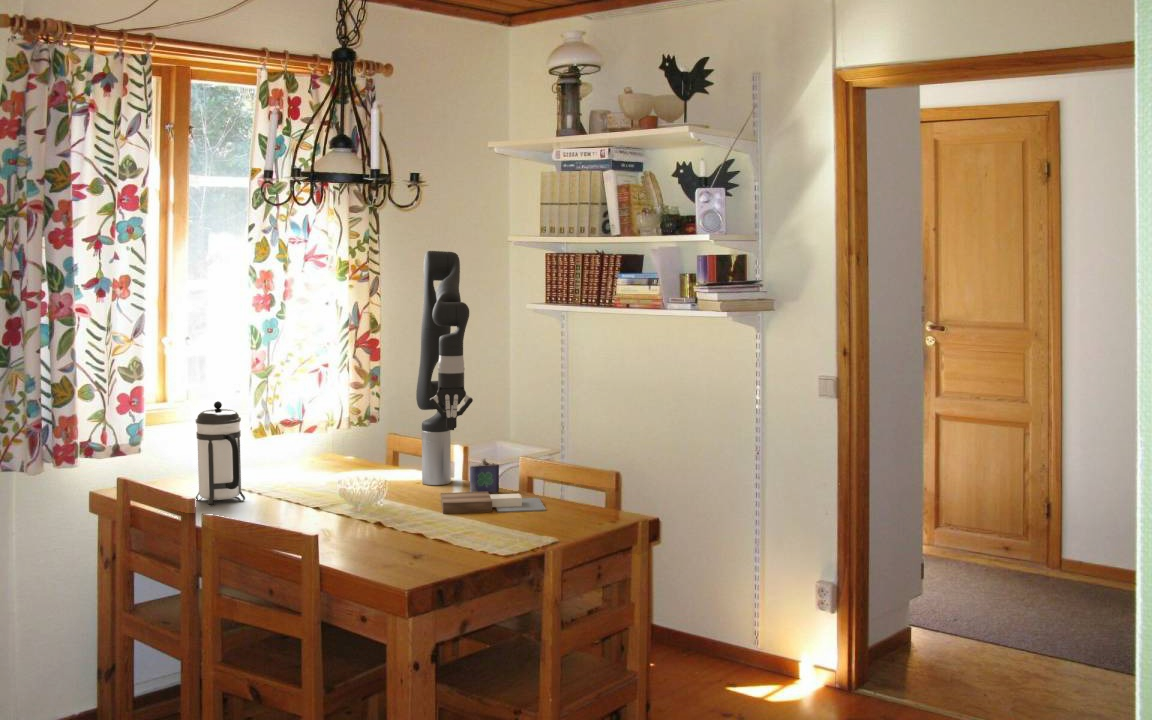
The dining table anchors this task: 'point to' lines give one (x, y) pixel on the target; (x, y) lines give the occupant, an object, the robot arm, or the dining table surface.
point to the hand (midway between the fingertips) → (451, 429)
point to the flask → (484, 477)
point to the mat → (524, 506)
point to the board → (466, 502)
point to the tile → (506, 500)
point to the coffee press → (219, 454)
